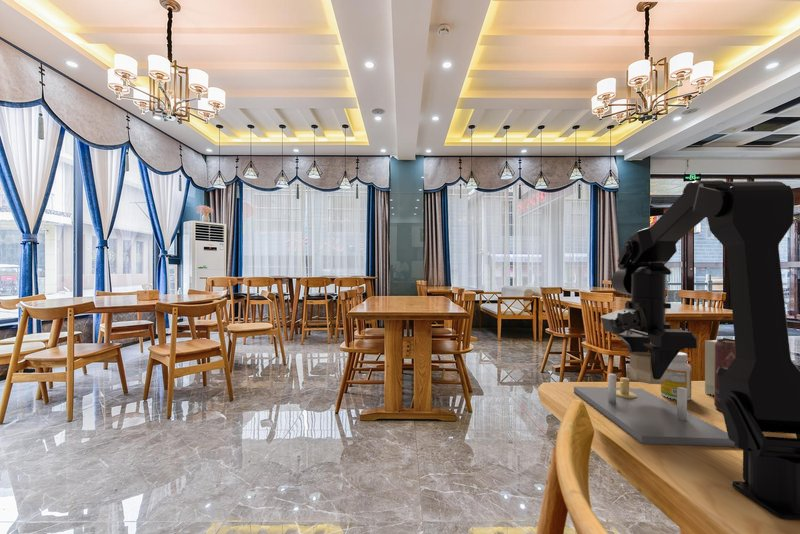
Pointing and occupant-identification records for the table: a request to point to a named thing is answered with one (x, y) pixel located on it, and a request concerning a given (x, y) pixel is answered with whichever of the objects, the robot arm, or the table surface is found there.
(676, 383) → the supplement bottle
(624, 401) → the slate board
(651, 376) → the napkin ring
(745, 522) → the table surface
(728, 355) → the can
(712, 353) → the skincare box
